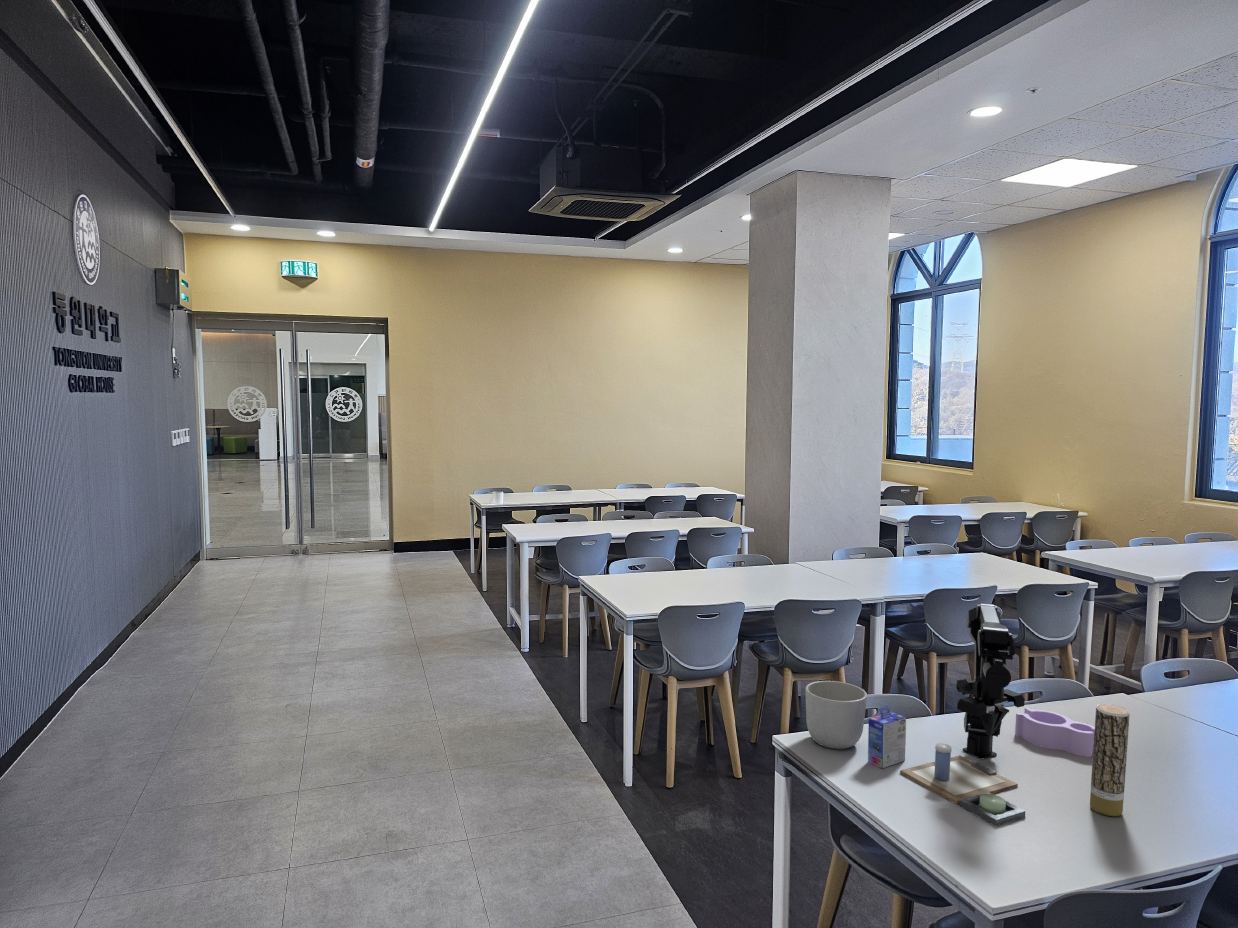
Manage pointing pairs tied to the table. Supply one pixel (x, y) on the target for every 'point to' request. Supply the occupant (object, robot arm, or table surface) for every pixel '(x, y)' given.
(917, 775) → the clipboard
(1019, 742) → the table surface
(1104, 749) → the paper tube
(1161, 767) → the table surface
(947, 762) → the blue cylinder
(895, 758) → the ink cartridge box
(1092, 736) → the clip
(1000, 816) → the button bezel
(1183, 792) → the table surface
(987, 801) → the button
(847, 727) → the planter
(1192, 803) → the table surface
